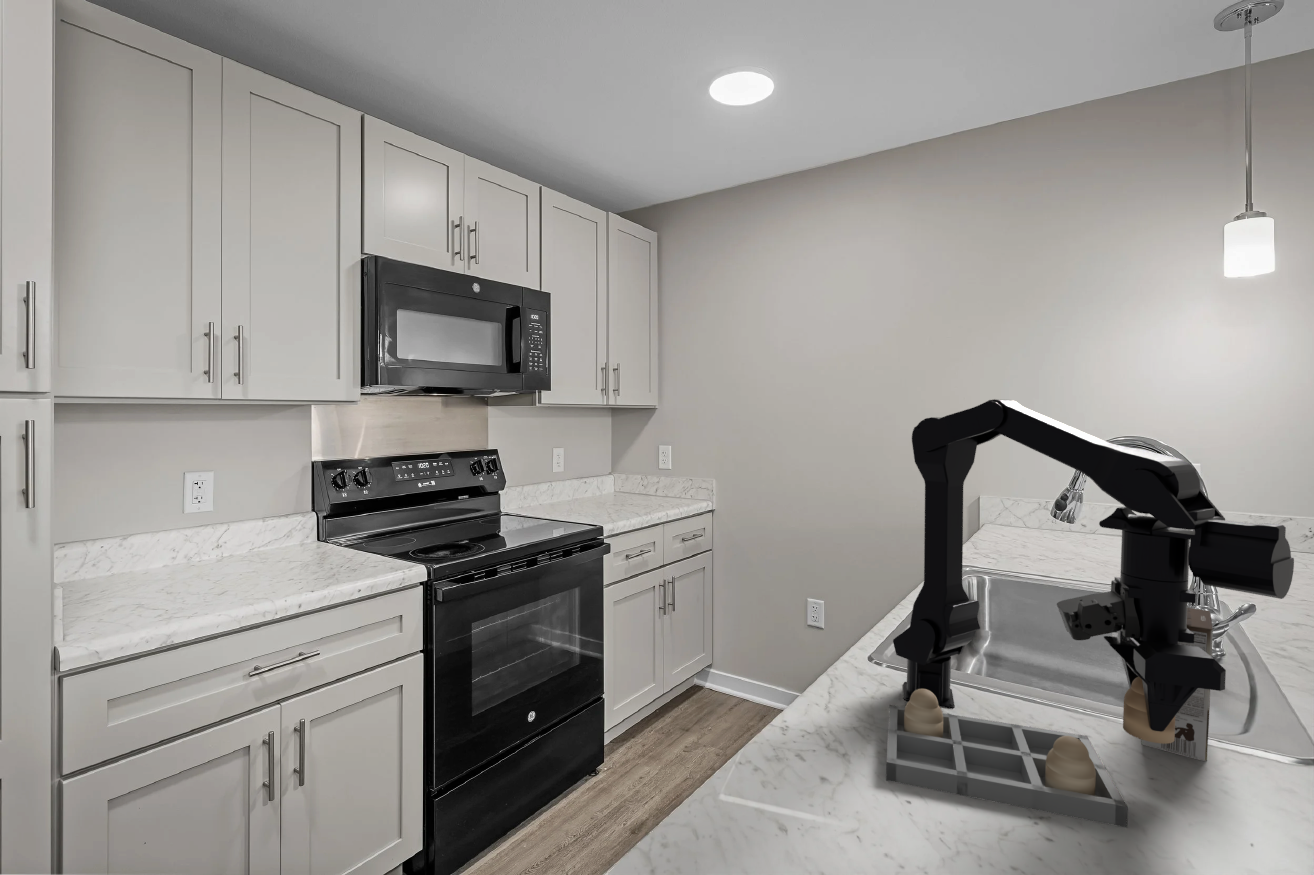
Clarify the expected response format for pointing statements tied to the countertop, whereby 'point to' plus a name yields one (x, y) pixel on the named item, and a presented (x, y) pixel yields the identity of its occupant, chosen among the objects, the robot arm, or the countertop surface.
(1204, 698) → the coffee box
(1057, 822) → the countertop surface
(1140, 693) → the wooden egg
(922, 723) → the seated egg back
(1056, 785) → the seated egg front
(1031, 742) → the egg carton
